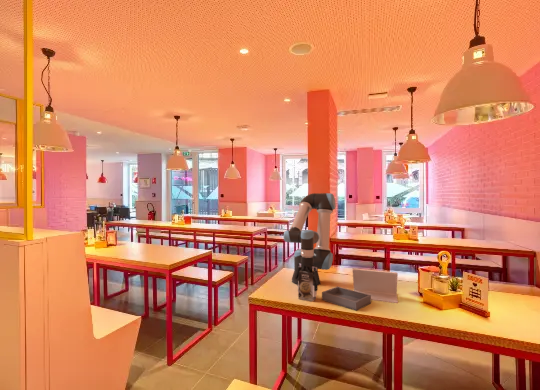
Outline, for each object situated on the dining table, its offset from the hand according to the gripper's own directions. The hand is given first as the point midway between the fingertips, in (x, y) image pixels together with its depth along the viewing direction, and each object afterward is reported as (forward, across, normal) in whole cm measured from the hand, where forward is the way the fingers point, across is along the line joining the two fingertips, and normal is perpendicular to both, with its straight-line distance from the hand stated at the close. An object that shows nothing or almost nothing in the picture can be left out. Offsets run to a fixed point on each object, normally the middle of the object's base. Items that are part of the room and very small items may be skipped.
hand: (307, 293), depth 164 cm
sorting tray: (+3, +18, +13) cm, 22 cm away
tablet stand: (+3, +24, +35) cm, 43 cm away
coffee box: (+3, 0, 0) cm, 3 cm away
